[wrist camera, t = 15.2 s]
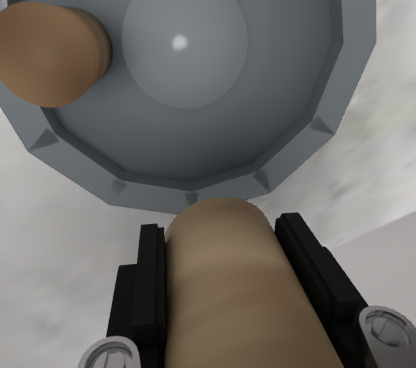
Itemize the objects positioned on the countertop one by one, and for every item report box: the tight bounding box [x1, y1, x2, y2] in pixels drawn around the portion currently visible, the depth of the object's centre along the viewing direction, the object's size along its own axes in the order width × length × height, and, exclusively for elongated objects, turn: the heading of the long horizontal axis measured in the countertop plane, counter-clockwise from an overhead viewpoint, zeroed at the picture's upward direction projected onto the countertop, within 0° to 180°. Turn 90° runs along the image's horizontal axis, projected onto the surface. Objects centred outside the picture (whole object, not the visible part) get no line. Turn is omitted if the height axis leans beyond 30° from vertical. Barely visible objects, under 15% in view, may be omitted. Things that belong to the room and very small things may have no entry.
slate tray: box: [0, 0, 376, 214], centre depth 18 cm, size 23×23×3 cm
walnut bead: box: [0, 2, 113, 108], centre depth 15 cm, size 4×4×6 cm
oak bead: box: [164, 197, 344, 368], centre depth 9 cm, size 4×4×6 cm
